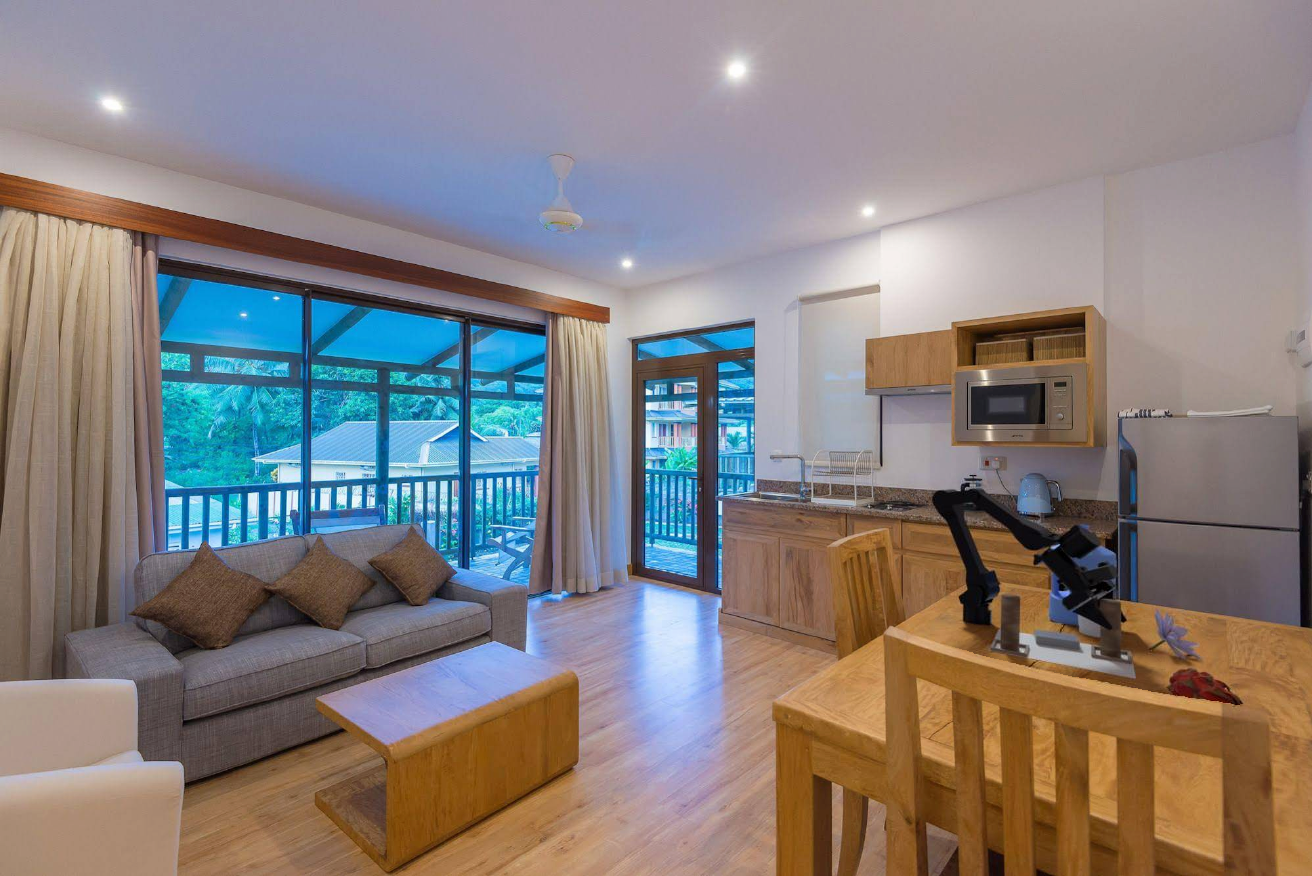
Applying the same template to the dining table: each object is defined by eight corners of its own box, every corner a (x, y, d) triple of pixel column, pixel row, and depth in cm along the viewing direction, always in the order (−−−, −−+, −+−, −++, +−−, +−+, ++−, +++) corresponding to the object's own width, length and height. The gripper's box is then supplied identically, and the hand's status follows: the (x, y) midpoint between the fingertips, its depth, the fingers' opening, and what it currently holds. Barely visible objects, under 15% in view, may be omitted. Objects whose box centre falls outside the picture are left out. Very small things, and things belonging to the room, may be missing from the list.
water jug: (1112, 621, 175) (1114, 524, 175) (1118, 636, 162) (1120, 531, 161) (1048, 611, 183) (1049, 519, 183) (1048, 625, 170) (1050, 526, 170)
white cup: (1119, 644, 156) (1120, 605, 155) (1085, 641, 157) (1085, 603, 157) (1103, 634, 163) (1104, 597, 163) (1070, 632, 165) (1071, 595, 165)
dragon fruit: (1166, 704, 125) (1237, 740, 113) (1148, 685, 122) (1219, 721, 110) (1189, 670, 125) (1261, 703, 114) (1171, 651, 122) (1244, 683, 111)
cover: (1036, 643, 152) (1036, 635, 152) (1033, 636, 157) (1034, 629, 157) (1079, 650, 148) (1079, 642, 148) (1075, 642, 153) (1075, 634, 153)
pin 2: (1104, 657, 143) (1104, 603, 142) (1097, 651, 146) (1097, 598, 146) (1124, 659, 141) (1124, 604, 141) (1116, 653, 145) (1116, 599, 145)
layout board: (989, 655, 147) (989, 647, 147) (998, 633, 163) (998, 626, 163) (1135, 684, 131) (1136, 675, 131) (1130, 656, 147) (1130, 648, 147)
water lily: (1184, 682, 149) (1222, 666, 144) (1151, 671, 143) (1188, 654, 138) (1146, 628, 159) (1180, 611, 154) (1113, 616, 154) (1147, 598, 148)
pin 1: (999, 649, 147) (1000, 596, 147) (1001, 645, 151) (1002, 593, 150) (1018, 653, 145) (1019, 599, 145) (1020, 648, 148) (1020, 595, 148)
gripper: (1078, 555, 141) (1135, 614, 132) (1107, 546, 152) (1161, 600, 143) (1040, 582, 148) (1092, 639, 139) (1070, 572, 159) (1120, 625, 150)
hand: (1118, 625), depth 143 cm, fingers open, 9 cm apart
